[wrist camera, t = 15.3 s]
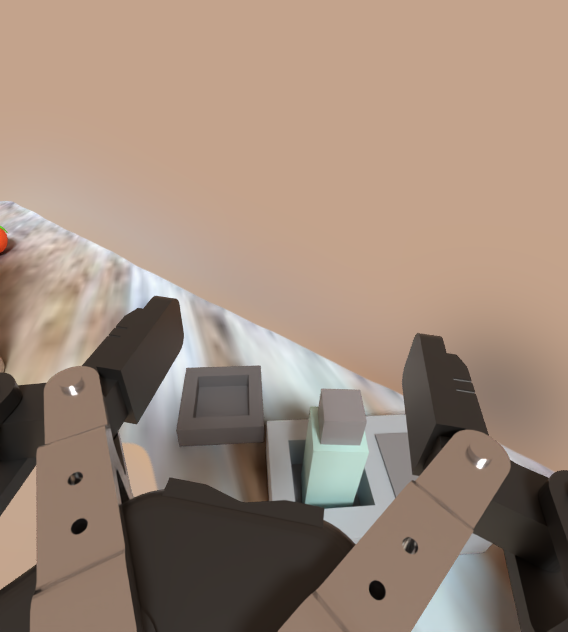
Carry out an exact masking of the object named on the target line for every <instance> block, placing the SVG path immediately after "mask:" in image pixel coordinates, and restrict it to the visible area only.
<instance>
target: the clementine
mask: <svg viewBox="0 0 568 632" xmlns="http://www.w3.org/2000/svg"><path fill="white" fill-rule="evenodd" d="M5 231H6V230H5V229H4V228H3V227H1V226H0V253H1V252H2V251H3V250H4V249H5V248H6V246H7V241H8V238H7V235H6V233H5ZM6 232H7V231H6Z"/></svg>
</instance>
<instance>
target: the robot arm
mask: <svg viewBox="0 0 568 632" xmlns="http://www.w3.org/2000/svg"><path fill="white" fill-rule="evenodd" d="M183 339H184V332H183V325H182V319H181V312H180V305H179V301H178V300H177V299H174V298H167V297H160V296H154V297H153V298H152V299H151V300H150V301H149V302H148V304H147V305H146V306H145V307H144V308H143V309H142V308H137V309H136V310H134V311H132V312H131V313H129V314H127V315H126V316H124V318H123V319H122V320H121V321H120V322H119V323H118V324H117V326H116V328H114V329H113V330H112V331H111V333H110V334H109V337H108V336H107V337H106V338H105V340H104V341H103V342H102V343H101V344H100V345H99V347H98V348H97V349H96V350H95V351H94V352H93V353H92V355H91V356H90V357H89V358H88V359H87V360H86V362H85V363H84V364H83V365H82V366H76V367H71V368H68V369H65V370H63V371H61V372H59V373H57V374H56V375H54V376H53V377H52V378H51V379H50V380H49V381H48V382H47V383H40V384H29V385H17V383H16V381H15V379H14V378H13V377H12V376H11V375H10V374H7V373H3V372H4V368H5V366H4V362H3V360H2V359H1V357H0V516H1V514H2V513H3V511H4V510H5V509H6V507H7V506H8V504H9V503H10V501H11V500H12V499H13V497H14V496H15V494H16V493H17V491H18V490H19V489H20V487H21V486H22V484H23V483H24V482H25V480H26V479H27V477H28V476H29V474H30V473H31V472H32V470H33V469H34V467H35V466H36V465H37V466H36V467H37V469H36V470H37V471H36V475H37V477H36V481H37V482H36V484H37V564H36V565H35V566H33V567H32V568H31V569H29V570H28V571H27V572H25V573H24V574H22V575H21V576H19V577H18V578H17V579H15V580H14V581H13V582H11V583H10V584H8V585H7V586H5V587H4V588H3V589H1V590H0V632H411V631H412V629H413V627H414V626H415V624H416V623H417V621H418V619H419V618H420V616H421V615H422V613H423V611H424V610H425V608H426V607H427V605H428V603H429V602H430V600H431V599H432V597H433V595H434V594H435V592H436V591H437V589H438V587H439V586H440V584H441V583H442V581H443V579H444V578H445V576H446V575H447V573H448V571H449V570H450V568H451V567H452V565H453V564H454V562H455V560H456V559H457V557H458V556H459V554H460V552H461V551H462V549H463V548H464V546H465V544H466V543H467V541H468V540H469V538H470V536H471V535H472V533H473V534H475V535H477V536H479V537H481V538H483V539H485V540H487V541H489V542H491V543H493V544H495V545H497V546H498V547H500V548H502V549H503V550H504V555H505V559H506V564H507V568H508V573H509V578H510V582H511V587H512V591H513V596H514V601H515V605H516V610H517V615H518V619H519V624H520V628H521V632H568V471H567V470H563V471H562V470H561V471H557V472H555V473H554V474H552V475H551V476H550V478H548V477H545V476H543V475H541V474H538V473H536V472H534V471H532V470H529V469H527V468H525V467H522V466H520V465H518V464H516V463H514V462H513V461H511V460H510V459H509V456H508V454H507V452H506V451H505V450H504V448H503V447H502V446H501V445H500V444H499V443H498V442H497V441H496V440H494V439H493V438H492V437H490V436H489V434H488V431H487V428H486V425H485V422H484V419H483V415H482V412H481V409H480V406H479V403H478V400H477V396H476V394H474V393H475V390H474V387H473V384H472V383H471V377H470V374H469V371H468V368H467V366H466V365H465V364H464V363H463V362H462V360H461V359H460V358H459V357H458V356H457V355H455V354H448V353H446V349H445V345H444V342H443V338H442V337H440V336H434V335H427V334H420V333H417V334H416V335H415V337H414V340H413V343H412V346H411V349H410V352H409V355H408V358H407V361H406V364H405V367H404V372H403V379H402V387H403V396H404V405H405V414H406V423H407V432H408V441H409V450H410V459H411V468H412V475H416V476H419V477H418V478H417V479H416V480H415V481H414V480H412V481H410V482H409V483H408V484H407V485H406V486H405V488H404V489H403V490H402V491H401V492H400V493H399V495H398V496H397V497H396V498H395V499H394V500H393V502H392V503H391V504H390V505H389V506H388V507H387V509H386V510H385V511H384V512H383V513H382V514H381V516H380V517H379V518H378V519H377V520H376V521H375V523H374V524H373V525H372V526H371V527H370V528H369V530H368V531H367V532H366V533H365V534H364V536H363V537H362V538H361V539H360V540H359V541H358V543H357V544H355V543H354V542H353V541H352V540H351V539H350V538H349V537H348V536H347V535H346V534H345V533H344V532H342V531H341V530H340V529H339V528H337V527H336V526H334V525H333V524H331V523H329V522H327V521H325V520H324V507H319V506H314V505H309V504H304V503H298V502H293V501H288V500H277V501H262V502H248V503H245V502H240V501H238V500H236V499H234V498H232V497H230V496H228V495H226V494H224V493H222V492H220V491H218V490H216V489H214V488H212V487H210V486H208V485H206V484H200V483H195V482H190V481H185V480H180V479H175V478H169V481H168V483H167V485H166V487H165V489H163V490H157V491H152V492H148V493H145V494H142V495H140V496H137V497H135V498H134V497H133V494H132V490H131V486H130V482H129V477H128V472H127V468H126V463H125V458H124V453H123V448H122V443H121V438H120V434H119V431H118V430H119V429H120V427H121V425H122V424H123V422H128V423H133V424H137V423H138V422H139V420H140V418H141V417H142V415H143V413H144V412H145V410H146V408H147V406H148V405H149V403H150V401H151V400H152V398H153V396H154V395H155V393H156V391H157V389H158V388H159V386H160V384H161V383H162V381H163V379H164V378H165V376H166V374H167V372H168V371H169V369H170V367H171V366H172V364H173V362H174V361H175V359H176V357H177V355H178V354H179V352H180V350H181V348H182V345H183Z"/></svg>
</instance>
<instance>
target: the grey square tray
mask: <svg viewBox="0 0 568 632" xmlns="http://www.w3.org/2000/svg"><path fill="white" fill-rule="evenodd" d="M176 431H177V436H178V440H179V445H180V446H199V445H218V444H238V443H257V442H264V416H263V399H262V382H261V366H232V367H200V368H186V374H185V380H184V387H183V393H182V399H181V405H180V411H179V418H178V424H177V430H176Z"/></svg>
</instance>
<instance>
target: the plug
mask: <svg viewBox="0 0 568 632" xmlns="http://www.w3.org/2000/svg"><path fill="white" fill-rule="evenodd" d="M366 424H367V420H366V415H365V410H364V406H363V401H362V396H361V392H360V390H348V389H321V394H320V401H319V407H311V406H310V413H309V421H308V428H307V435H306V443H305V450H304V457H303V465H302V472H301V483H302V503H304V504H309V505H314V506H319V507H324V509H329V508H343V507H352V505H353V502H354V498H355V495H356V492H357V489H358V486H359V483H360V479H361V476H362V473H363V470H364V467H365V464H366V460H367V457H368V454H369V450H368V445H367V440H366V435H365V427H366Z"/></svg>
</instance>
